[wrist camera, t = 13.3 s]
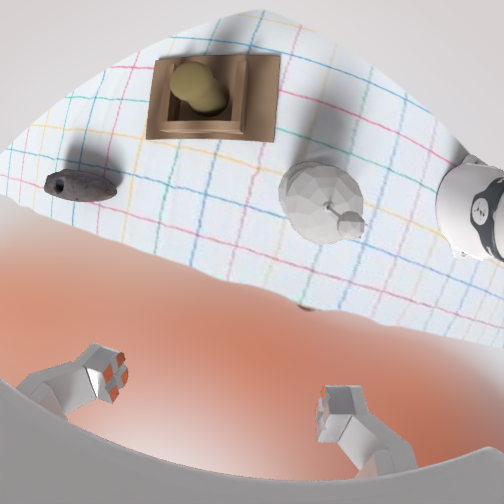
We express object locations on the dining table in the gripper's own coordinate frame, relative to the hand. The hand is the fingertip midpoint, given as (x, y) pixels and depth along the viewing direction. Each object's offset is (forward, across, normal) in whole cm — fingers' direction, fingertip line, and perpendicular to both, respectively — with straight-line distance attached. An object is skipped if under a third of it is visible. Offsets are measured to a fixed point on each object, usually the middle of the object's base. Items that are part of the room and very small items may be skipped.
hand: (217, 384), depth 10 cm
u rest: (+34, +10, -18) cm, 40 cm away
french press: (+34, -7, -4) cm, 35 cm away
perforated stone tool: (+34, +32, -4) cm, 47 cm away
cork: (+33, +10, -18) cm, 39 cm away
